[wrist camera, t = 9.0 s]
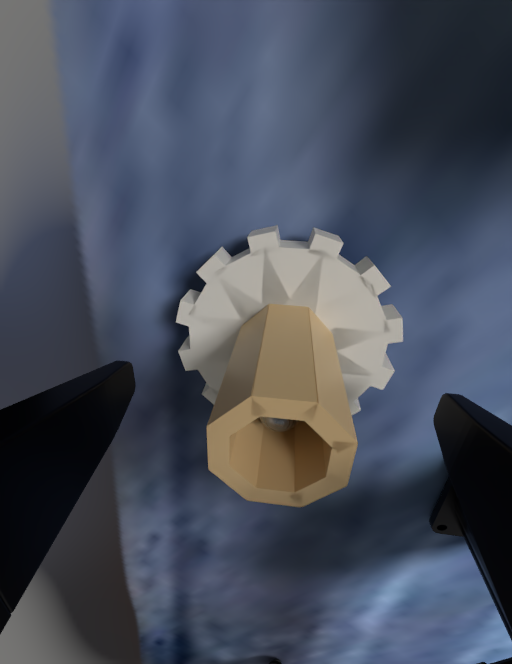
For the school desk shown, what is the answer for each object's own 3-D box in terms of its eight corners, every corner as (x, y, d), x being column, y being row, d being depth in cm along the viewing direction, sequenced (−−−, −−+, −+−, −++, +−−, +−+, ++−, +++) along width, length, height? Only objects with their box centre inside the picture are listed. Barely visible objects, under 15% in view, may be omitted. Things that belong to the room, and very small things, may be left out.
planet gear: (369, 420, 14) (416, 580, 9) (191, 401, 15) (130, 539, 9) (417, 233, 10) (553, 302, 5) (180, 219, 11) (66, 267, 6)
